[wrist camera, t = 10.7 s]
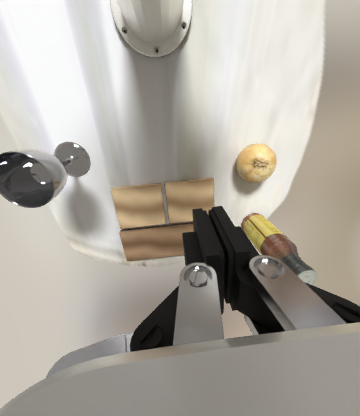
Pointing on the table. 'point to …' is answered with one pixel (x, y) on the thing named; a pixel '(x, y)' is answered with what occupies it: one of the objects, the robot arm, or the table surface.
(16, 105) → the table surface
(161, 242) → the walnut board
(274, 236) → the sauce bottle
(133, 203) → the oak plank
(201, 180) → the oak plank
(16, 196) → the wine glass
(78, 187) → the table surface
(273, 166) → the onion
